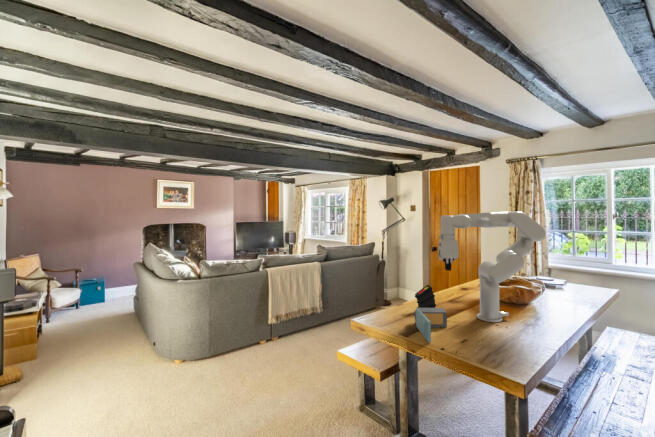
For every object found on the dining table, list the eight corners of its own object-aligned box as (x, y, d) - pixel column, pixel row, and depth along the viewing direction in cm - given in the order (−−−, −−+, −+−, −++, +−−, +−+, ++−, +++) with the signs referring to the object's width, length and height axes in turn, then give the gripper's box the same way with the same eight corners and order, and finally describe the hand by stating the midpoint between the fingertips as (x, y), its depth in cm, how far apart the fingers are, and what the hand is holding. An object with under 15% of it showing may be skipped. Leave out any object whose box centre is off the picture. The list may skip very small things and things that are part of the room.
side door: (430, 342, 139) (430, 321, 139) (426, 342, 139) (425, 321, 139) (418, 325, 159) (417, 307, 158) (413, 325, 159) (413, 307, 158)
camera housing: (443, 322, 164) (442, 307, 164) (447, 327, 157) (446, 312, 157) (414, 322, 165) (414, 307, 165) (416, 327, 158) (416, 312, 158)
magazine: (440, 306, 185) (431, 285, 182) (424, 318, 181) (415, 297, 178) (435, 304, 189) (427, 284, 186) (420, 316, 184) (411, 296, 181)
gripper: (439, 238, 164) (439, 272, 165) (464, 237, 167) (464, 270, 167) (432, 237, 171) (432, 269, 172) (456, 236, 174) (456, 268, 174)
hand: (448, 270), depth 170 cm, fingers closed
